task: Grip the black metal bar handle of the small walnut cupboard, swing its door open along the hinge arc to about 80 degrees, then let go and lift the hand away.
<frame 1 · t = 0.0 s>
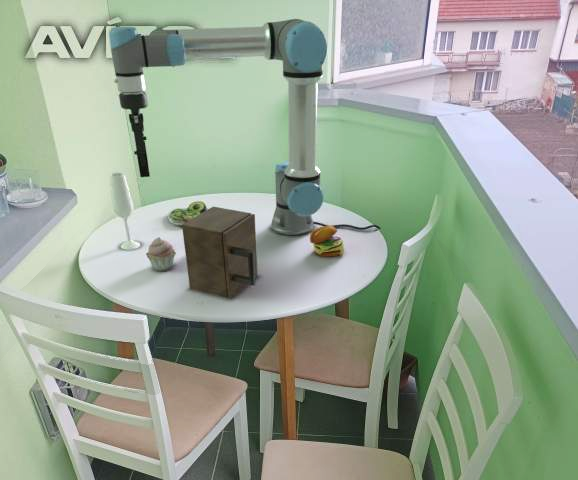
hand: (144, 170, 171), 28 cm above the table, tool pointing down, fingers open, 13 cm apart
cheeseburger: (326, 252, 190), on the table
cupcake: (163, 267, 182), on the table
champagne flute: (130, 246, 196), on the table
cupboard door: (251, 258, 163), point 10 cm above the table, hinge at 0.0°
cupboard: (222, 282, 173), on the table
plate of green donuts: (191, 219, 215), on the table
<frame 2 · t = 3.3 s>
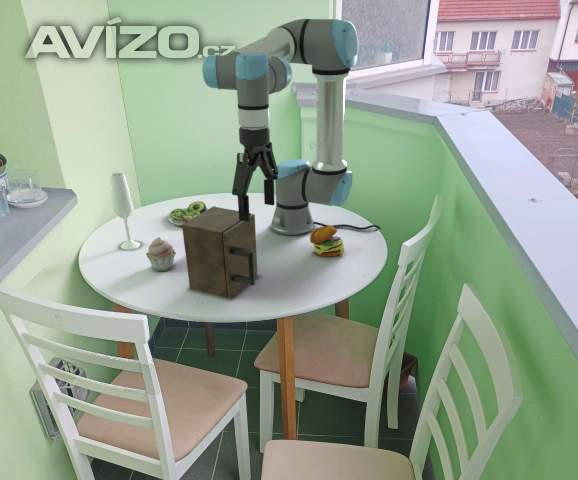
hand: (257, 212, 151), 25 cm above the table, tool pointing down, fingers open, 13 cm apart
nothing on the table moved.
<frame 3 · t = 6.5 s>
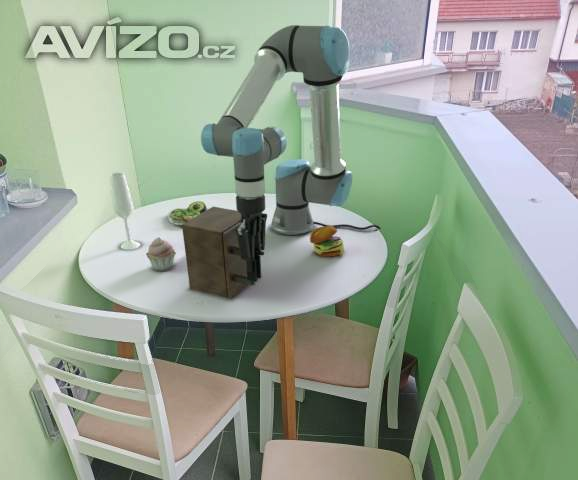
hand: (254, 278, 159), 7 cm above the table, tool pointing down, fingers closed on cupboard door, 2 cm apart
cupboard door: (251, 258, 163), point 10 cm above the table, hinge at 0.1°, touching gripper
everything else where it was.
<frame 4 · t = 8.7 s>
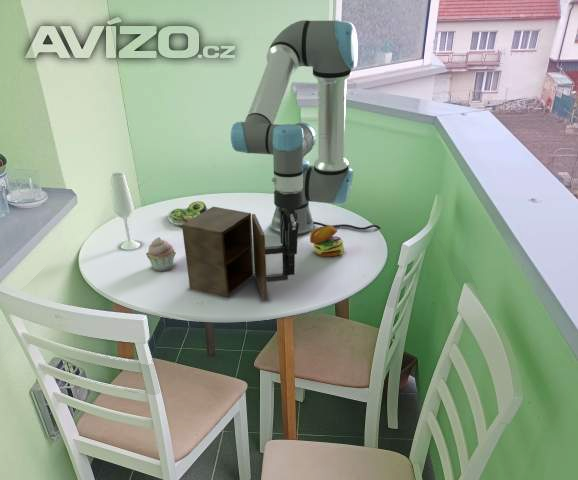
hand: (288, 272, 162), 7 cm above the table, tool pointing down, fingers closed on cupboard door, 2 cm apart
cupboard door: (270, 256, 164), point 10 cm above the table, hinge at 38.8°, touching gripper
everything else where it was.
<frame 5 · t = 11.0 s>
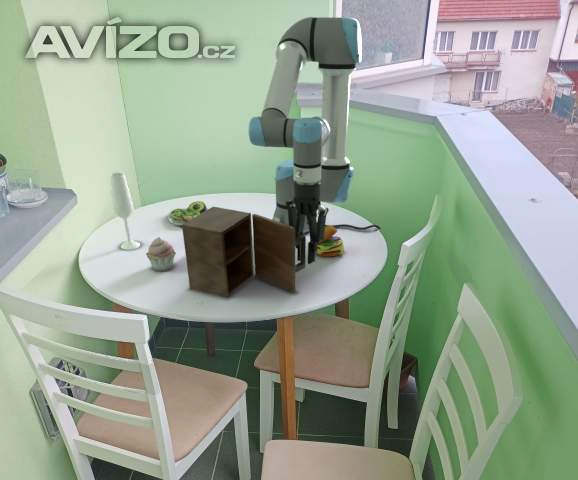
hand: (306, 260, 169), 7 cm above the table, tool pointing down, fingers open, 3 cm apart
cupboard door: (282, 250, 167), point 10 cm above the table, hinge at 73.7°
everything else where it was.
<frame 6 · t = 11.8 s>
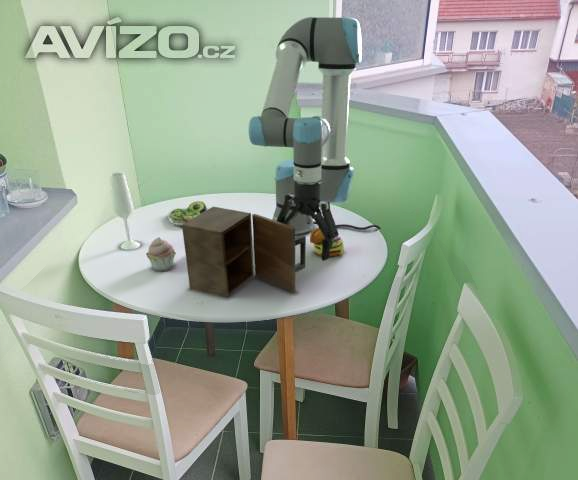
hand: (306, 253, 168), 9 cm above the table, tool pointing down, fingers open, 13 cm apart
nothing on the table moved.
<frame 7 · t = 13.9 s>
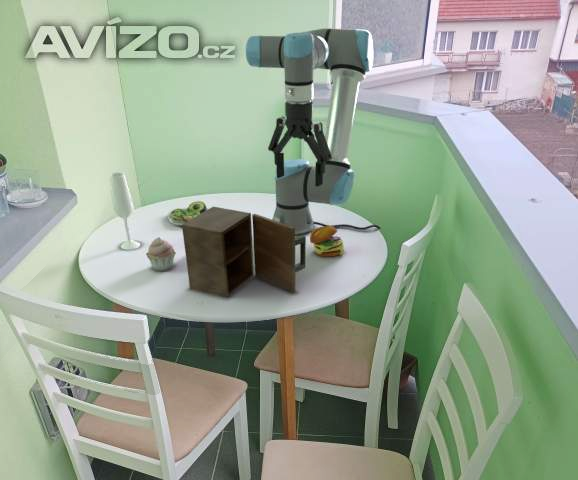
hand: (299, 181, 165), 27 cm above the table, tool pointing down, fingers open, 13 cm apart
nothing on the table moved.
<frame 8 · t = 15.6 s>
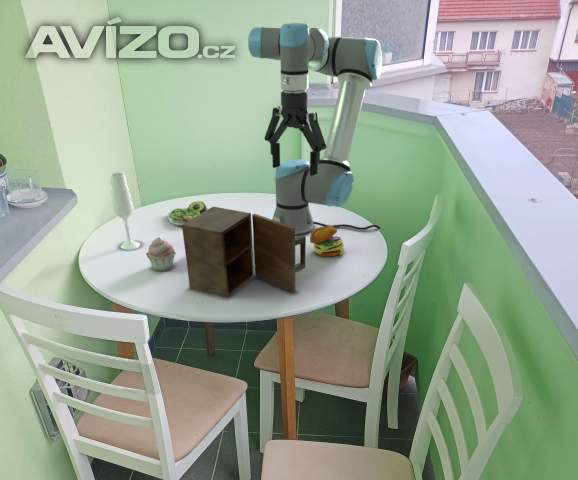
hand: (294, 170, 167), 29 cm above the table, tool pointing down, fingers open, 13 cm apart
nothing on the table moved.
at the end: cupboard door at +74° (first picture: +0°) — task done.
